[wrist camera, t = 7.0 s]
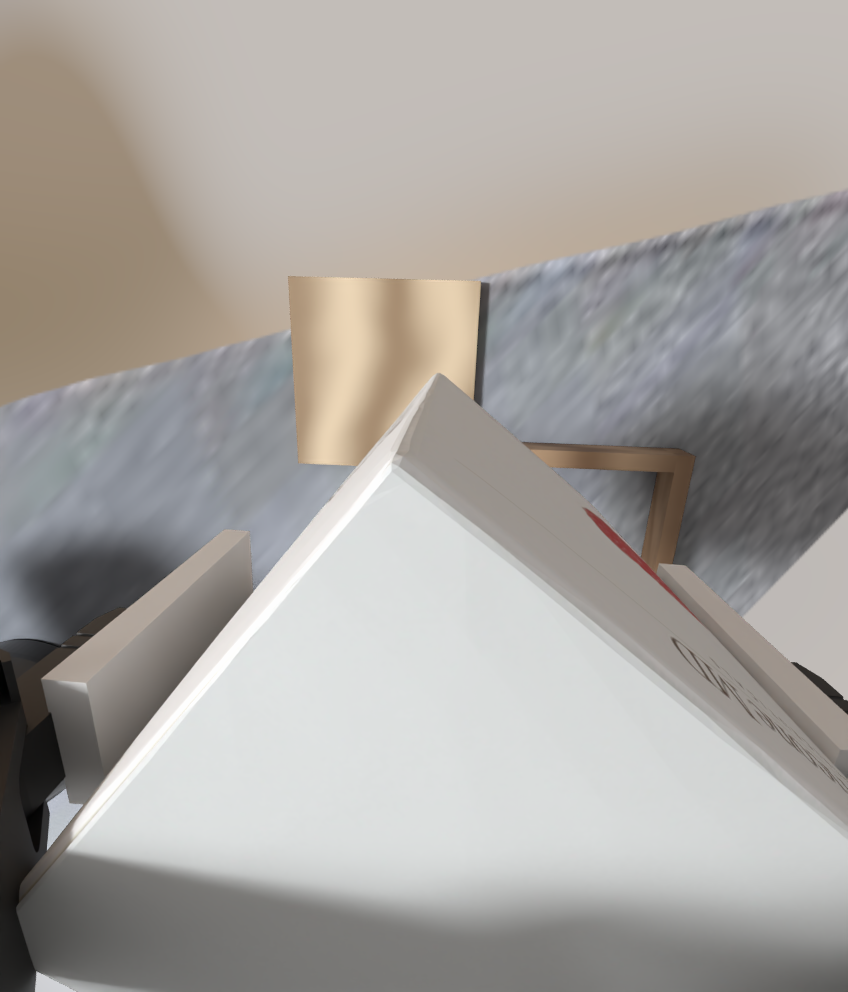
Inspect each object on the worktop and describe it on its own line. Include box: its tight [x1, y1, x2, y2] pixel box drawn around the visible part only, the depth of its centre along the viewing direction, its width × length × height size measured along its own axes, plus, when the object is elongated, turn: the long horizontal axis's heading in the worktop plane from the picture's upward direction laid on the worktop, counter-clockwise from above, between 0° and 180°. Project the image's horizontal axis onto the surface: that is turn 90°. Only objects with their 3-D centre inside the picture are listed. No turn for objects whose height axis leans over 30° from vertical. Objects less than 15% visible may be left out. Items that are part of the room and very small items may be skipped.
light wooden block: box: [288, 276, 481, 466], centre depth 33 cm, size 13×13×1 cm
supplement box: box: [16, 373, 848, 992], centre depth 13 cm, size 9×9×15 cm
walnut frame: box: [522, 442, 696, 574], centre depth 36 cm, size 15×15×2 cm
